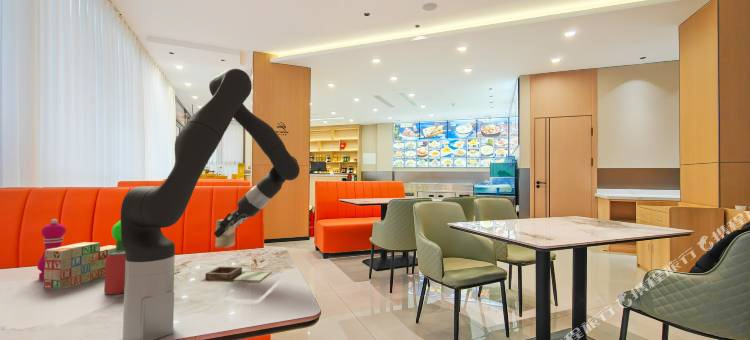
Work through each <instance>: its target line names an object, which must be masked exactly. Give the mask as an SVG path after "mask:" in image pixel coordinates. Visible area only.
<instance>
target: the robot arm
mask: <svg viewBox="0 0 750 340" xmlns="http://www.w3.org/2000/svg"><path fill="white" fill-rule="evenodd" d="M208 85H209V86H208V88H209V92H210V94H211V96H212V97H211V98H210V99H209V100H208V101H207V102H206V103H205V104H203V105H202V106H201V107H200V108H199V109H198V110H197V111H196V112H195V113H194V114H192V115H191V116H190V118H188V120H187V121H186V123H185V124H184V126H183V127H182V129H181V130H180V131H179V133H178V135H177V137H176V139H175V140H174V157H175V158H174V166H173V167H172V169H171V171H170V173H169V174H168V176H167V177H166V179H165V181H164V182H163V183H162V184H161V185H159V186H155V185H154V186H153V185H151V186H150V185H148V186H147V185H146V186H143V185H142V186H136V187H134V188H132V189H130V190H129V191H128V192H127V193H126V194H125V196H124V197H123V199H122V202H121V207H120V220H121V243H122V247H123V249H124V251H125V254H126V258H125V259H126V260H125V285H124V293H123V319H122V320H123V321H122V322H123V323H122V340H158V339H161V338H164V337H166V336H168V335H171V334H174V312H175V311H174V306H175V292H174V290H175V288H174V287H175V286H174V285H175V262H176V261H175V260H176V257H175V256H176V246H175V245H176V244H175V242H174V241H173V240H170V239H169V237H168V238H167V237H166V236H165V235H164V234H163V232H162V228H163V229H164V228H169V227H172V226H174V225H175V224H177V223H178V221H180V219H181V218H182V216H183V214H184V213H185V211H186V208H187V207H188V205H189V202H190V200H191V197H192V195H193V193H194V190H195V189H196V185H197V184H198V181H199V179H200V178H201V176H202V174H203V172H204V170H205V168H206V166H207V164H208V163H209V160H210V159H211V157H212V156H213V154H214V153H215V151H216V149H217V148H218V146H219V144H220V142H221V140H222V138H223V136H224V134H225V132H226V131H227V130H228V128H229V126H230V124H231V123H232V120H233V119H234V120H235V121H236V122H237V123H238V124H239V125H240V126H241V127H242V128H243V129H244V130H245V131H246V132H247V133H248V134H249V135H250V136H251V138H252V139H253V140H254V142H256V144H257V145H258V146H259V148H260V150H262V152H263V153H264V154H265V155H266V156H267V158H268V159H269V160H270V162H271V164H272V168H270V170H269V171H268V172H267V174H266V175H265V176H263V178H261V179H260V180H259V182H257V184H255V185H254V186H253V187H252V188H250V189H249V190H248V191H247V192H246V193H245V194H244V195H243V196H242V197H240V199H239V200H238V201H237V203H236V205H237V208H238V209H235V210H234V211H232V212H231V213H228V214H226V216H225V217H224V218H223V219H224V220H223V221H222V222H221V223H220V224H219V225H220V226H221V227H219V228H218V229H217V230H216V229H215V232H214V233H213V235H214V236H215V238H216V237H220V236H221V235H222V234H223V233H224V232H225V231H226V230H228V229H229V228H230V227H231V226H234V225H235V229H236V228H237V227H240V225H241V224H243V223H244V222H245V221H246V220H248V219H249V217H250V218H253V217H255V216H256V215H257V214H258V213H259V212H260V211H262V209H263V208H265V206H266V205H267V204H268V203H270V201H271V199H272V198H274V197H275V196H276V195H277V193H279V192H280V190H281V189H282V187H283V184H284V183H285V182H286V181H293V180H295V179H297V178H298V176H299V175H300V165H299V162H298V160H297V158H296V157H294V156H293V155H291V154H290V153H289V151H288V150H287V148H286V146H285V143H284V142H283V140H282V139H281V138H280V136H279V134H278V133H277V132H276V131H275V129H274V128H273V127H272V126H271V125H270V124H268V123H267V122H266V121H264V120H263V119H261V118H260V117H258V116H257V115H255V114H254V113H252V112H251V111H250V110H249V109H248V108H247V107H246V106H245V104H244V102H245V101H246V100H247V98H249V96H250V94H251V92H252V86H253V84H252V80H251V78H250V75H249V74H248V73H247V72H246V71H245V70H243V69H240V68H230V69H227V70H225V71H223V72H222V73H220V74H218V75H216V76H215V77H213V78H212V79H210V82H209V84H208ZM232 222H233V223H232ZM225 224H226V225H225Z"/></svg>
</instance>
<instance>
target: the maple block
mask: <svg viewBox="0 0 750 340" xmlns="http://www.w3.org/2000/svg"><path fill="white" fill-rule="evenodd" d="M223 220H224V218H222V219H217V220H216V221H215V231H216V230H217V229H218V228H219V227H221V226H220V225H219V224H220V223H221V222H222V221H223ZM232 223H233V222H232ZM225 225H226V224H225ZM235 236H236V228H235V225H234V226H231V227H230V228H229V229H228V230H226V231H225V232H224V233H223V234H222V235H221V236H220V237H216V236H215V243H214V245H215V246H214V247H215V248H230V247H233V246H235V245H236V244H235V241H236V240H235V239H236V237H235Z"/></svg>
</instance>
